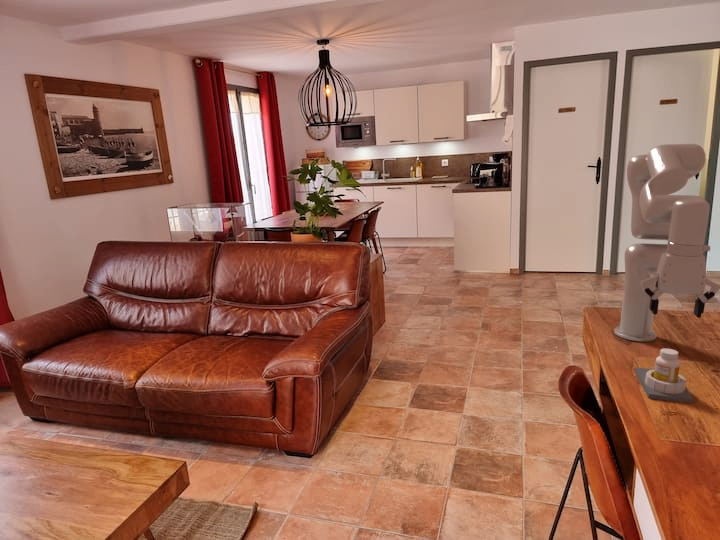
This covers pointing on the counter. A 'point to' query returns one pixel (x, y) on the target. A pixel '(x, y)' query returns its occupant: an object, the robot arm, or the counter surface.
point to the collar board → (659, 394)
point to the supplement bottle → (667, 366)
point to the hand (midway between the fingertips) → (675, 314)
